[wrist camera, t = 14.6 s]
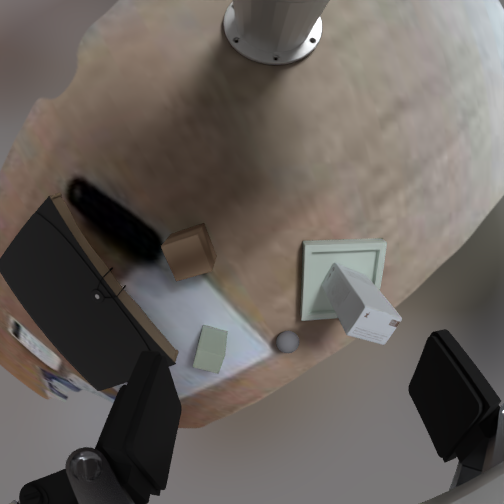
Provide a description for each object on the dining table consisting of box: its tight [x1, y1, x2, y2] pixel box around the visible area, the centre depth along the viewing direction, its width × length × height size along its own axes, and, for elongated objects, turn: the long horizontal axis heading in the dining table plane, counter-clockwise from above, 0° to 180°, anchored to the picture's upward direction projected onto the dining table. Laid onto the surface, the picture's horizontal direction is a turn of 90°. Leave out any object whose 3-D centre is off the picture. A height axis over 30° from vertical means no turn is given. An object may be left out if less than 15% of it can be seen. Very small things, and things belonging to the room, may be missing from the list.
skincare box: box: [322, 262, 402, 345], centre depth 35 cm, size 6×4×12 cm
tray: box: [300, 238, 387, 321], centre depth 41 cm, size 12×12×2 cm
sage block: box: [193, 325, 228, 374], centre depth 43 cm, size 4×4×6 cm
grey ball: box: [276, 331, 299, 353], centre depth 44 cm, size 4×4×4 cm
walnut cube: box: [161, 223, 216, 281], centre depth 37 cm, size 5×5×5 cm
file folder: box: [0, 193, 178, 391], centre depth 42 cm, size 33×4×24 cm
